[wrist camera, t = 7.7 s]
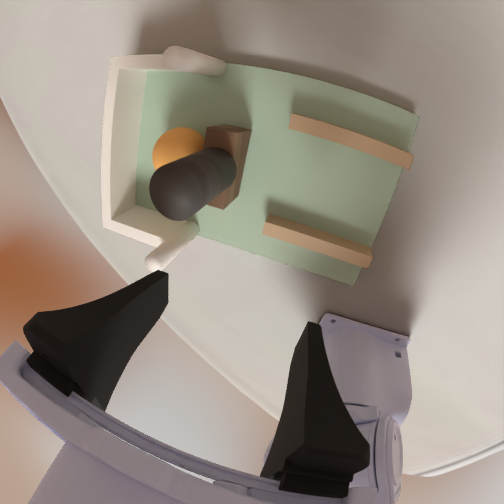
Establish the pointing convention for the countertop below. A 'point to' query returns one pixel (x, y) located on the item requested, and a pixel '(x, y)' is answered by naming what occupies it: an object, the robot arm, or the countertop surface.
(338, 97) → the pitch
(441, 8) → the countertop surface
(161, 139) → the ball
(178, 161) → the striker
